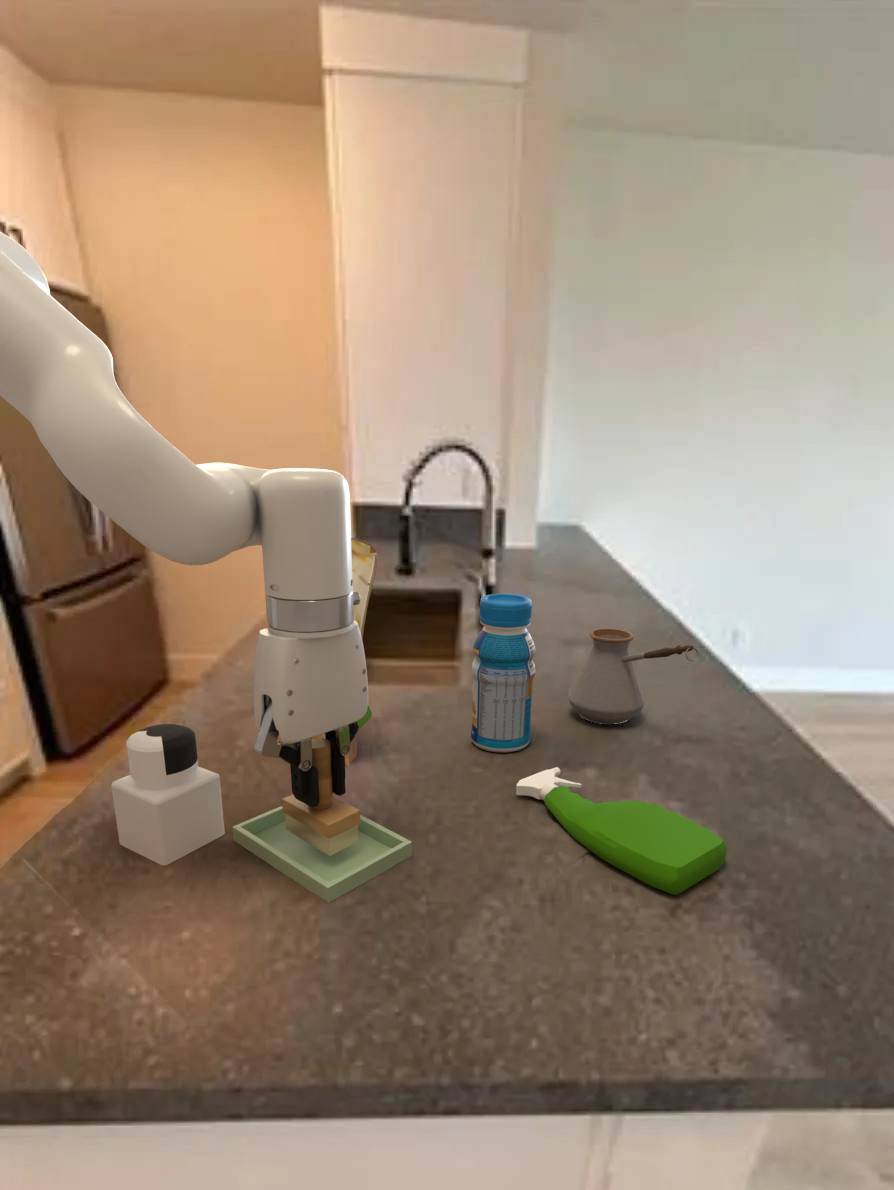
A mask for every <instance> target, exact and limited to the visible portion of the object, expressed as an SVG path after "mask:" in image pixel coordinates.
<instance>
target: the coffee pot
mask: <svg viewBox="0 0 894 1190" xmlns="http://www.w3.org/2000/svg"><path fill="white" fill-rule="evenodd" d="M589 637H590V638H591V639H592V647H591V649H590V651H589V653H588V655H587V657H586V659H585V660H584V663H583V664H582V667H581V668H580V670H579V672H578V674H577V676H576V678H575V680H574V682H573V683H572V685H571V687H570V689H569V691H568V693H567V699H568V702H569V704H570V706H571V707H572V709H574V711H575V713H577V714H579V717H580V718H581V719H583V720H584V719H585V720H584V721H586V720H588V721H587V722H589V721H591V722H590V723H592V722H595V723H594V724H596V723H602V724H614V723H620V722H623V721H625V720H628V719H630V720H631V719H633V718H635V717H636V716H637V715H638V714H640V713H641V711H642V710H643V708H644V707H645V703H646V700H645V697H644V696H645V695H644V694H643V690H642V687H641V684H640V681H639V677H638V675H637V672H636V670H635V669H636V668H635V666H634V663H633V662H635V661H639V660H644V659H658V658H668V657H670V656H673V655H678V656H679V655H682V654H683V653H684V655H685V658H686V660H688V661H689V662H695V661H697V660H698V658H699V651H698V649H697V648H696V647H694V646H693V645H689V644H688V645H687V644H686V645H683V646H682V645H676V646H675V647H662V648H658V649H657V648H656V649H654V650H650V651H646V652H643V653H636V654H630V650H629V647H630V644H631V641H634V638H635V636H634V634H633V633H632V632H629V631H628V630H624V629H619V628H596V629H593V630H591V631H589ZM693 650H695V652H696V657H695V659H690V658H689V657H688V655H687V654H688V652H691V651H693Z"/></svg>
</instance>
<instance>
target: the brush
mask: <svg viewBox="0 0 894 1190" xmlns="http://www.w3.org/2000/svg"><path fill="white" fill-rule="evenodd" d="M312 766H313V767H315V768H317V770H318V783H319V804H318V806H316V807H313V808H312V807H310V806H308V805H306V804H305V803H303V802H301V801H299V800H297V799H296V798H295V797H294V795H293V794H290V795H288V796H285V797H283V798H281V806H282V810H283V812H284V813H285V820H286V830H287V831H289V832H291V833H292V834H294V835H296V836H297V837H299V838H301V839H302V840H304V841H306V842H307V843H309V844H311V845H312V846H314V847H316V848H317V849H319V850H321V851H322V852H324V853H326V854H328V855H329V856H331V855H333V854H335V853H337V852H339V851H341V850H343V849H345V848H347V847H349V846H351V845H353V844H355V843H357V842H358V841H359V836H358V824H360V815H361V810H360V809H359V808H357V807H355V806H353V805H351V804H349V803H347V802H346V801H343V800H341V799H340V798H337V797H336V796H334V793H333V790H332V767H331V744H330V741H329V740H327V739H323V738H316V739H312Z"/></svg>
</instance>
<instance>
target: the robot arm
mask: <svg viewBox="0 0 894 1190" xmlns="http://www.w3.org/2000/svg"><path fill="white" fill-rule="evenodd" d="M0 397H1V398H3V399H4V400H5V401H6V402H7V403H8V404H10V405H11V406H12V407H13V408H14V409H15V410H17V411H18V412H19V413H20V414H21V415H22V416H23V417H24V418H25V419H27V421H28V422H29V423H30V424H31V425H32V427H33V429H34V431H35V433H36V435H37V437H38V439H39V441H40V442H41V444H42V445H43V448H45V450H46V451H47V453H48V454H49V456H50V457H51V459H52V460H53V461H54V463H55V465H56V466H57V467H58V469H59V470H60V471H61V473H62V474H63V475H64V476H65V478H66V480H68V481H69V482H70V483H71V485H72V486H73V487H74V488H75V489H76V490H77V491H78V492H79V493H80V494H81V495H82V496H83V497H84V498H86V500H88V501H89V503H91V504H92V505H93V506H95V507H96V508H97V509H98V510H99V511H100V512H102V513H103V514H104V515H105V516H106V517H108V518H109V519H110V520H111V521H113V522H114V523H115V524H116V525H118V526H119V527H120V528H121V529H122V530H124V531H125V532H126V533H127V534H128V535H130V536H131V537H132V538H134V539H135V540H136V541H138V542H139V543H140V544H141V545H143V546H145V547H146V548H147V549H149V550H150V551H151V552H153V553H155V554H156V555H159V556H160V557H162V558H164V559H167V560H169V561H171V562H174V563H177V564H180V565H185V566H204V565H208V564H212V563H215V562H217V561H219V560H221V559H224V558H225V557H227V556H228V555H230V554H232V553H234V552H236V551H240V550H242V549H245V548H248V547H254V546H261V550H262V551H261V552H262V565H263V581H264V593H265V594H264V595H265V608H266V609H265V610H266V622H267V627H266V628H263V629H260V630H258V636H257V642H256V648H255V654H254V663H253V665H254V666H253V689H252V690H253V719H254V725H255V729H256V730H257V731H258V734H257V737H256V739H255V743H254V746H253V751H254V752H255V753H257V754H259V755H260V756H263V757H265V758H274V759H281V760H282V761H284V763H287V764H289V766H290V780H291V781H290V782H291V792H292V795H294V797H295V798H296V799H297V800H299V801H301V802H303V803H305V804H306V805H308V806H310V807H312V808H313V807H316V806H318V804H319V783H318V770H317V768H315V767H313V766H312V737H315V736H318V735H321V734H322V738H323V739H327V740H329V741H330V744H331V767H332V790H333V795H337V796H343V795H345V794H346V778H347V777H346V764H345V756H346V755H348V754H349V752H350V743H351V742H352V740H353V738H354V737H355V735H356V736H357V733H358V732H359V729H361V728H362V727H363V726H364V725H365V724H366V723H367V722H368V721H370V719H371V718H372V716H373V713H372V710H371V708H370V706H369V681H368V680H369V679H368V669H367V661H366V654H365V648H364V642H363V638H362V637H361V633H360V629H359V626H358V623H357V622H356V621H354V612H353V606H354V605H358V604H359V603H360V595H359V594H358V592H356V591H353V582H352V550H351V538H352V522H351V519H352V518H351V495H350V493H351V492H350V486H349V482H348V481H347V479H346V477H345V476H344V475H343V474H342V473H340V472H338V471H336V470H331V469H326V468H325V469H324V468H309V467H308V468H306V467H305V468H302V467H300V468H299V467H297V468H296V467H288V468H276V469H266V468H258V467H254V466H246V465H241V464H235V463H228V462H209V463H208V462H207V463H199V464H196V463H194V462H193V461H192V460H191V459H190V458H188V456H186V455H185V454H184V453H182V451H180V450H179V449H178V448H177V447H176V446H174V445H173V443H171V442H170V441H169V440H168V439H166V437H164V436H163V434H161V433H160V432H159V431H157V429H156V428H154V427H153V426H152V425H151V424H150V423H149V422H148V421H147V420H146V419H145V418H144V417H143V416H142V415H141V414H140V413H139V412H138V410H136V409H135V408H134V406H133V405H132V404H131V403H130V402H129V400H128V399H127V398H126V397H125V395H124V394H123V392H122V390H121V389H120V388H119V386H118V383H117V381H116V378H115V374H114V358H113V355H112V353H111V351H110V349H109V348H108V345H106V344H105V343H104V341H103V340H102V339H101V338H99V337H98V335H96V334H95V333H94V332H92V330H90V329H89V328H88V327H87V326H86V325H84V324H83V323H82V322H81V321H80V320H78V318H77V317H76V316H74V315H73V314H72V313H71V312H70V311H69V310H68V309H67V308H65V307H64V306H63V305H62V304H61V303H60V302H58V300H56V299H55V298H54V297H53V296H52V295H51V290H50V286H49V284H48V279H47V277H46V276H45V273H44V272H43V270H42V268H41V267H40V264H39V263H38V262H37V260H36V259H35V258H34V257H33V255H32V254H31V253H30V252H29V251H28V250H27V249H26V248H25V247H24V245H21V244H20V243H19V242H17V241H16V240H15V239H14V238H12V237H10V236H9V235H7V234H5V233H4V232H2V231H0ZM278 737H279V739H280V741H278Z"/></svg>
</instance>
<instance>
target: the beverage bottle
mask: <svg viewBox="0 0 894 1190" xmlns="http://www.w3.org/2000/svg"><path fill="white" fill-rule="evenodd" d="M532 614H533V602H532V599H530V598H529V597H528V596H525V595H520V594H515V593H492V594H486V595H484V596H482V597H481V598H480V602H479V623H480V624H481V625H482V626H483V627H482V628H481V630H480V632H479V633H478V634H477V636H476V638H475V641H474V643H473V647H472V653H473V654H474V656H475V657H474V659H473V661H472V663H471V669H470V670H471V675H472V719H471V728H470V729H471V730H470V739H471V742H472V744H473V745H475V746H476V747H477V748H480V749H481V750H484V751H487V752H492V753H512V752H513V753H515V752H517V751H520V750H523V749H525V748H526V747H527V746H528V745H529V744H530V742H531V738H532V731H531V722H532V721H531V718H532V703H533V701H532V700H533V687H534V678H535V676H536V665H535V662H534V660H533V659H534V657H535V656H536V655H535V654H536V646H535V642H534V640H533V638H532V636H531V633H530V632H529V630H528V629H527V628H528V627H530V625H531V623H532Z"/></svg>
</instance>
